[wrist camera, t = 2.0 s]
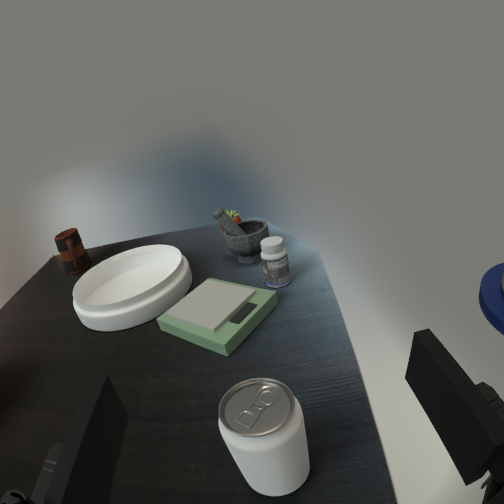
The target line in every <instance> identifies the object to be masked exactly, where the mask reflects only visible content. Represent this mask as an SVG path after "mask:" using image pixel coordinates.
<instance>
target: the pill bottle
mask: <svg viewBox="0 0 504 504" xmlns="http://www.w3.org/2000/svg"><path fill="white" fill-rule="evenodd" d="M260 244H261V249H262V252H261V260H262V265H263V270H264V275H265V280H266V284H267V285H268V286H269V287H273V288H279V287H283V286H286V285H287V284H289V283H290V281H291V275H290V268H289V261H288V256H287V250H286V249H285V248H284V243H283V239H282V238H281V237H278V236H271V237H267V238H265V239H263V240H262V241H261V242H260Z"/></svg>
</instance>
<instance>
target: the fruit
mask: <svg viewBox="0 0 504 504" xmlns="http://www.w3.org/2000/svg"><path fill="white" fill-rule="evenodd" d="M225 213H226V214H228V216H229V217H230V218H231V219H232V220H233V221H234V222H235V223H239V222H241V219H240V217H238V216H237V215H239V213H238V214H235V213H236V210H235V211H234V212H233V210H231V212H230V213H229V212H228V211H227V210H226V211H225ZM221 227H222V225H221ZM222 229H223V230H225V229H224V228H223V227H222Z"/></svg>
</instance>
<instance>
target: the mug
mask: <svg viewBox="0 0 504 504" xmlns="http://www.w3.org/2000/svg"><path fill="white" fill-rule="evenodd" d="M55 242H56V245H57V248H58V251H59V252H60V255H61V258H62V262H63V265H64V268H65V270H66V272H67V273H68V274H76V273H79V272H81V271H83V270H85V269H86V268H87V267H88V266H89V265H90V258H89V256H88V253H87V251H86V249H84V246H83V244H82V240H81V238H80V235H79V233H78V231H77V229H76V228H71V229H68V230H65V231H63V232H61V233H60V234H58V235H57V236H56V237H55Z"/></svg>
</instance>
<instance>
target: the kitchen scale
mask: <svg viewBox="0 0 504 504" xmlns="http://www.w3.org/2000/svg"><path fill="white" fill-rule="evenodd" d="M277 304H278V298H277V292H276V291H272V290H267V289H261V288H256V287H251V286H246V285H241V284H236V283H231V282H227V281H222V280H217V279H212V278H208V279H207V280H206V281H204V282H203V283H202V284H201V285H199V286H198V287H197V288H195V289H194V290H193V291H192V292H190V293H189V294H188V295H186V296H185V297H184V298H183V299H181V300H180V301H179V302H177V303H176V304H175V305H174V306H172V307H171V308H170V309H169V310H167V311H166V312H165V313H164V314H162V315H161V316H160V317H158V318H157V321H158V324H159V326H160V328H161V330H163V331H165V332H167V333H170V334H172V335H174V336H177V337H179V338H182V339H184V340H186V341H189V342H191V343H194V344H196V345H199V346H201V347H204V348H206V349H209V350H212V351H214V352H217V353H219V354H222V355H225V356H227V357H228V356H229V355H230V354H231V353H232V352H233V351H234V350H235V349H236V348H237V347H238V346H239V345H240V344H241V343H242V342H243V341H244V340H245V339H246V338H247V336H248V335H249V334H250V333H251V332H252V331H253V330H254V329H255V328H256V327H257V326H258V325H259V324H260V323H261V321H262V320H263V319H264V318H265V317H266V316H267V315H268V314H269V313H270V312H271V311H272V309H273V308H274V307H275V306H276V305H277Z"/></svg>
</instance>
